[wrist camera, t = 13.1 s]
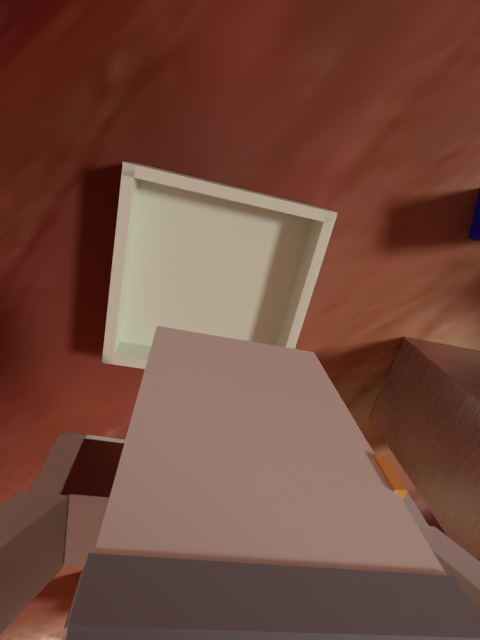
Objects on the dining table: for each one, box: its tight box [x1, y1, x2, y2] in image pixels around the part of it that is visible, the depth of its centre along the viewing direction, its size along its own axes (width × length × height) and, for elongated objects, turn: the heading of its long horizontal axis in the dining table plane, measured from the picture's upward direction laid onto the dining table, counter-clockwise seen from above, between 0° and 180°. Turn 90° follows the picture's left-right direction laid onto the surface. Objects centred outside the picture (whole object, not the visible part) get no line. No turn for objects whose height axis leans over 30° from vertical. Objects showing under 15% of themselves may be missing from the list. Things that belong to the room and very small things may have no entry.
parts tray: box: [102, 162, 338, 369], centre depth 22 cm, size 11×11×2 cm
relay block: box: [66, 326, 480, 640], centre depth 8 cm, size 5×5×7 cm
